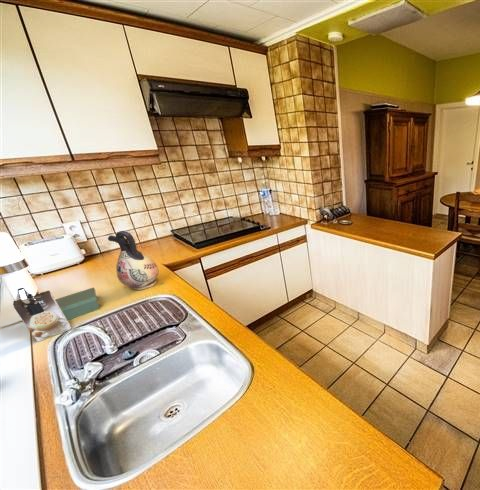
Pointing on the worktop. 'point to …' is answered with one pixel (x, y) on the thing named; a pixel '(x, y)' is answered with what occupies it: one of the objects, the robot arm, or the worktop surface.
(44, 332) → the coffee box
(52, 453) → the worktop surface
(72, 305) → the green block
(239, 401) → the worktop surface
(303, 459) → the worktop surface
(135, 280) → the ceramic jug
